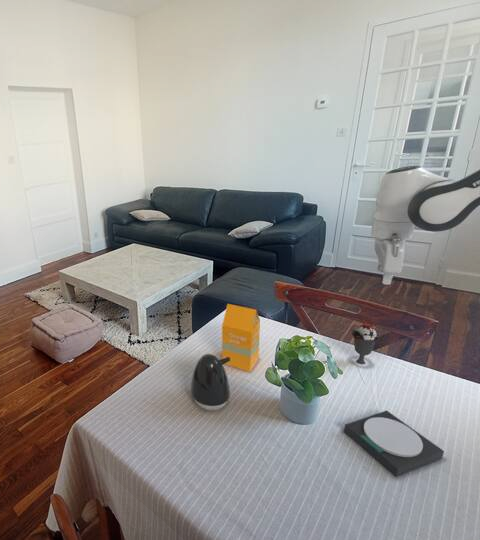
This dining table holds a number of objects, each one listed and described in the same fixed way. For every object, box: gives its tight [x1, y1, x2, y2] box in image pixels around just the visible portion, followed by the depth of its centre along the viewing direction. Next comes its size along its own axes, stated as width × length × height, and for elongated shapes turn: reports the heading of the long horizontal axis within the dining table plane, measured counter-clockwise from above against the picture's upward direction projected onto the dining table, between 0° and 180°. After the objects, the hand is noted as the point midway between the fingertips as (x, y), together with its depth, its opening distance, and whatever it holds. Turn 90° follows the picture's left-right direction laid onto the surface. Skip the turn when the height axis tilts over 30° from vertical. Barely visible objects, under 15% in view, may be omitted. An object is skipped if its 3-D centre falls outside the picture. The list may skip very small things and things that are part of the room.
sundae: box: [351, 317, 381, 365], centre depth 97 cm, size 7×7×15 cm
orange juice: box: [221, 303, 261, 372], centre depth 103 cm, size 8×9×20 cm
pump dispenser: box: [190, 353, 231, 412], centre depth 89 cm, size 10×10×15 cm
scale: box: [343, 410, 445, 478], centre depth 73 cm, size 12×12×4 cm
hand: (383, 277), depth 95 cm, fingers open, 8 cm apart
